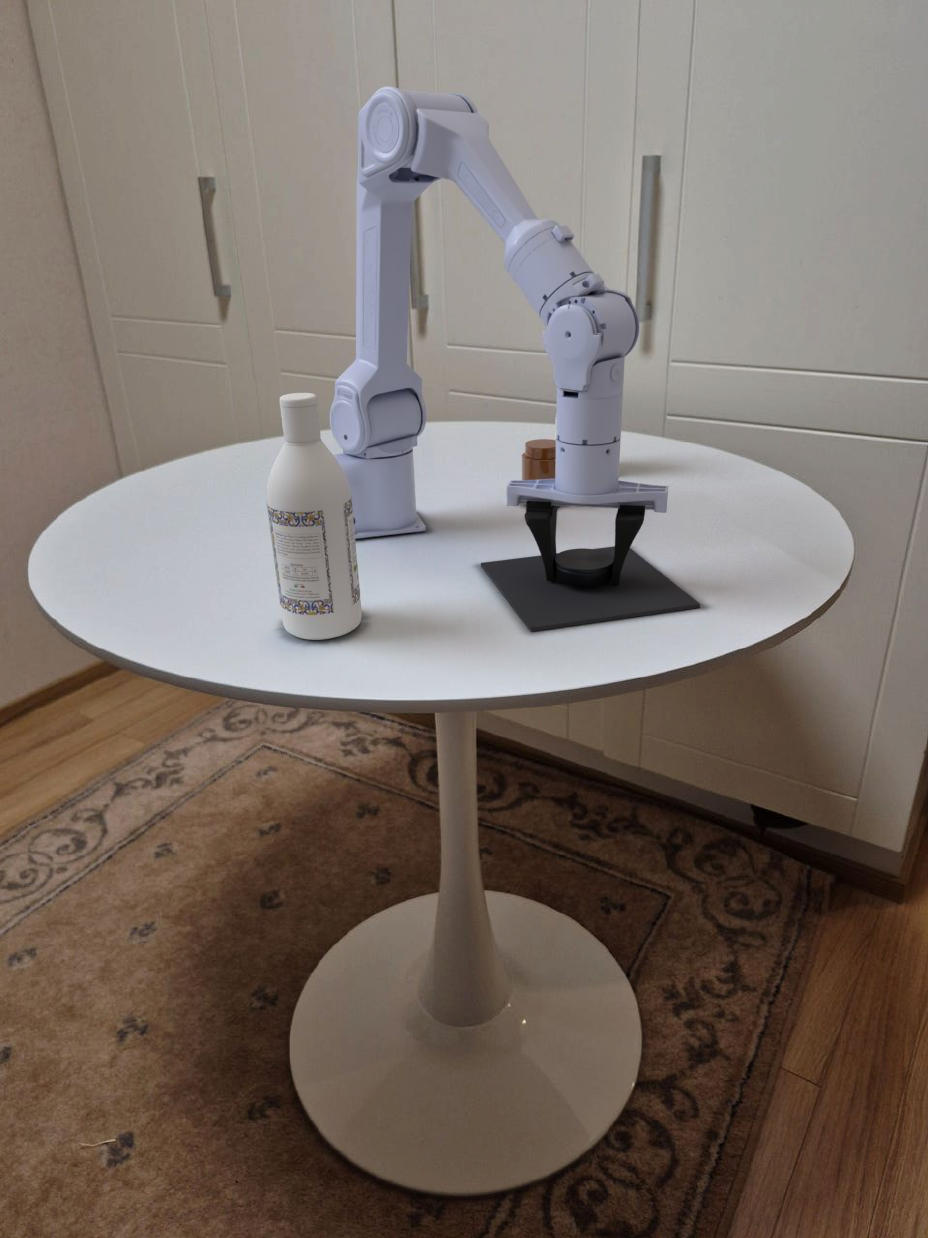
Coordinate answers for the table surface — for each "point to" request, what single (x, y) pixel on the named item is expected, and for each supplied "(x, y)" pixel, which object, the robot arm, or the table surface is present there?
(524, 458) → the jar
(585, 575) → the jar lid
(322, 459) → the bath foam
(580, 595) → the mat
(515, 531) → the table surface
